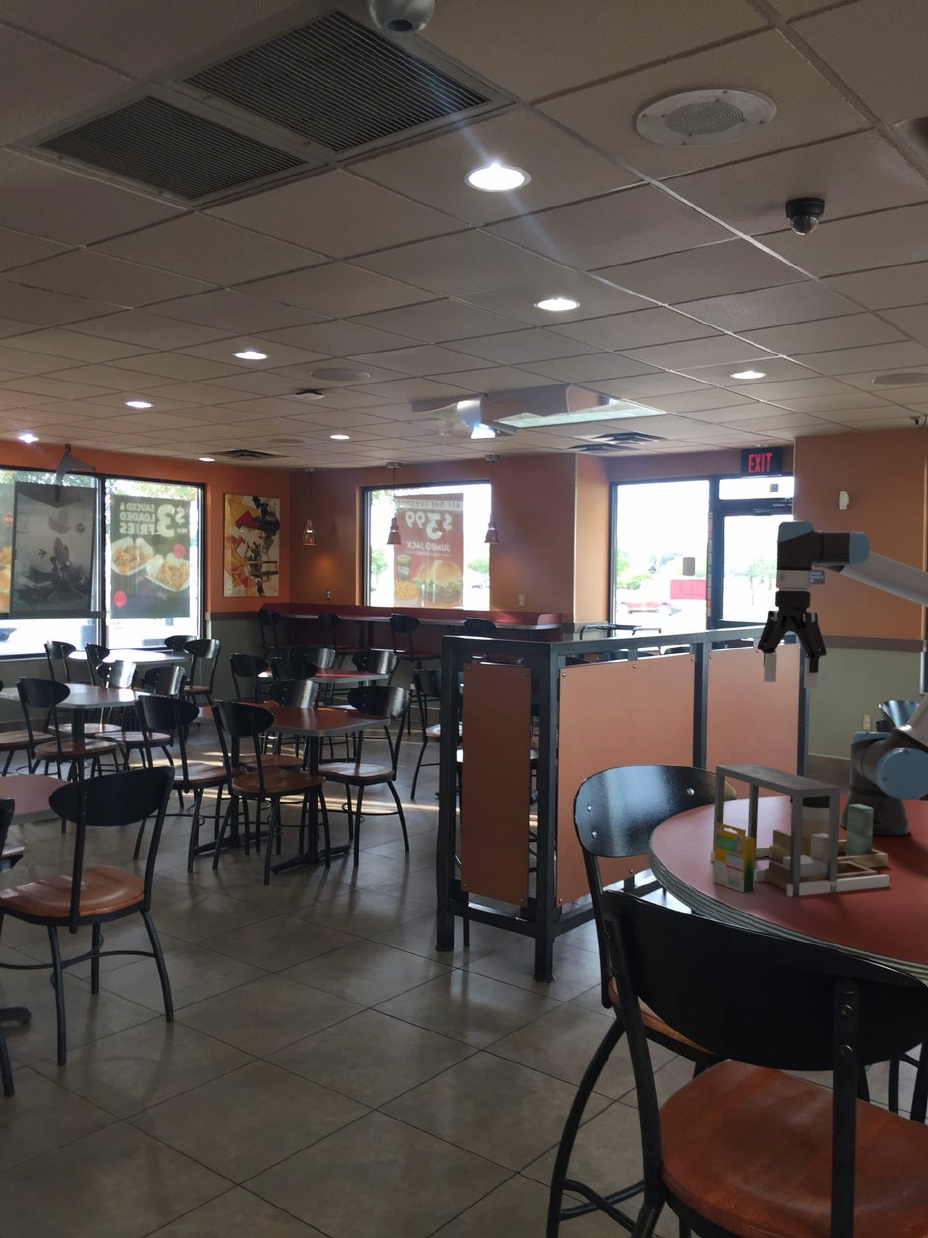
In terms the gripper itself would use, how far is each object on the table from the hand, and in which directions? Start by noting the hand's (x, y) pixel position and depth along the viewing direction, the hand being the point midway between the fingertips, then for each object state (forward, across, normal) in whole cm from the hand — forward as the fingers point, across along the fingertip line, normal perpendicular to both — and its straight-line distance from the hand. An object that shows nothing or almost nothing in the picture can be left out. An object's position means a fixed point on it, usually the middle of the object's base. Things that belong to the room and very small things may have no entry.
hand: (789, 684), depth 221 cm
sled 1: (+35, +19, -4) cm, 40 cm away
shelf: (+35, +24, -22) cm, 47 cm away
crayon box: (+35, +28, -34) cm, 56 cm away
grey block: (+35, +31, -20) cm, 51 cm away
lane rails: (+35, +24, -16) cm, 45 cm away
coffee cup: (+35, +19, -9) cm, 41 cm away
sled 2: (+35, +31, -16) cm, 49 cm away
